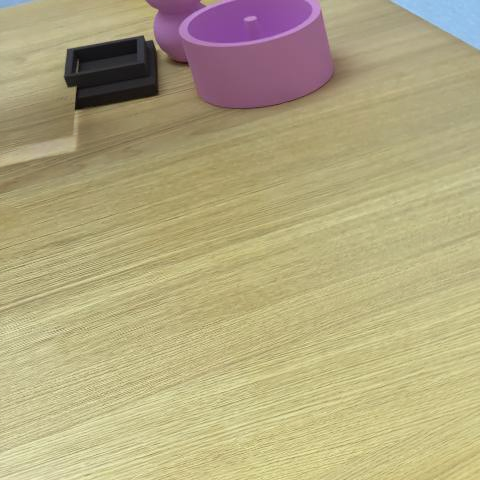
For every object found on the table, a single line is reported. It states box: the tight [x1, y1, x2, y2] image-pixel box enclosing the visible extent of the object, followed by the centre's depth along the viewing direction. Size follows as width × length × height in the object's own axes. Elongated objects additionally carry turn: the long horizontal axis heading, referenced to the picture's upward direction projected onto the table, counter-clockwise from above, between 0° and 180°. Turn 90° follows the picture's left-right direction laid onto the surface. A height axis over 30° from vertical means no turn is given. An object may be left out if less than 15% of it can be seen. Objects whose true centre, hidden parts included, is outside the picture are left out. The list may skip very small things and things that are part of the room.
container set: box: [144, 0, 335, 109], centre depth 115 cm, size 25×15×13 cm, turn 49°
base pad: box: [63, 34, 160, 111], centre depth 120 cm, size 10×14×3 cm
